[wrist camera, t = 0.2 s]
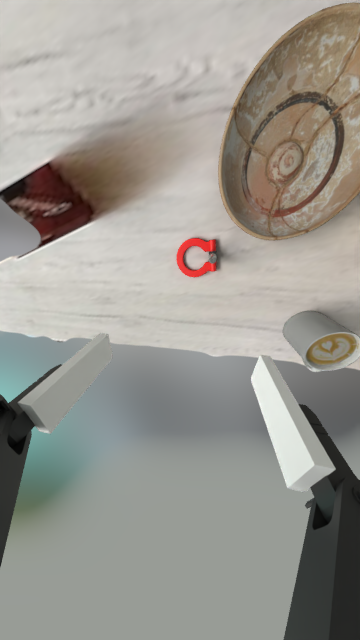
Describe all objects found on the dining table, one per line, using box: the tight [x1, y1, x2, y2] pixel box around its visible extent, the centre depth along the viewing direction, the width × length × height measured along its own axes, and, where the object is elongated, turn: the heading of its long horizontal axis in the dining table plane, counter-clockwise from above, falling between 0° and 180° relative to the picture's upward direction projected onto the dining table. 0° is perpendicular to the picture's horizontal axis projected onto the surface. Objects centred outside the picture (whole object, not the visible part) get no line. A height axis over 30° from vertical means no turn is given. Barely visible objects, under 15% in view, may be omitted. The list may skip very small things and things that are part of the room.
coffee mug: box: [283, 311, 360, 372], centre depth 35 cm, size 13×10×10 cm
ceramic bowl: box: [218, 3, 360, 240], centre depth 23 cm, size 23×24×5 cm
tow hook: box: [177, 238, 217, 277], centre depth 29 cm, size 8×13×9 cm
